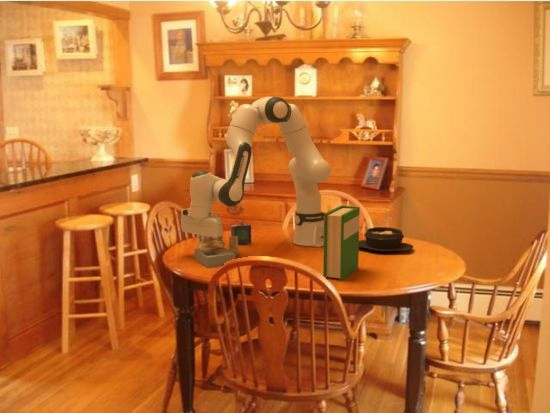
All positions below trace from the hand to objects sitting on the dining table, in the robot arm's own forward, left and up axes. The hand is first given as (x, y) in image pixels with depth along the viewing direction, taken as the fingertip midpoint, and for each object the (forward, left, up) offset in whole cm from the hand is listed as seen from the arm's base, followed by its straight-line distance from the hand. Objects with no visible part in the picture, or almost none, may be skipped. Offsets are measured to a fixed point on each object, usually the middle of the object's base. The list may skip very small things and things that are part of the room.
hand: (202, 245), depth 234 cm
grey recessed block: (-3, +6, -6) cm, 9 cm away
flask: (-24, -14, -6) cm, 28 cm away
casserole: (-74, +24, -6) cm, 78 cm away
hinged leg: (-3, +2, -2) cm, 4 cm away
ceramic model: (-12, -18, -6) cm, 23 cm away
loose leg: (-13, +2, -6) cm, 14 cm away
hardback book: (-38, +44, -6) cm, 58 cm away
